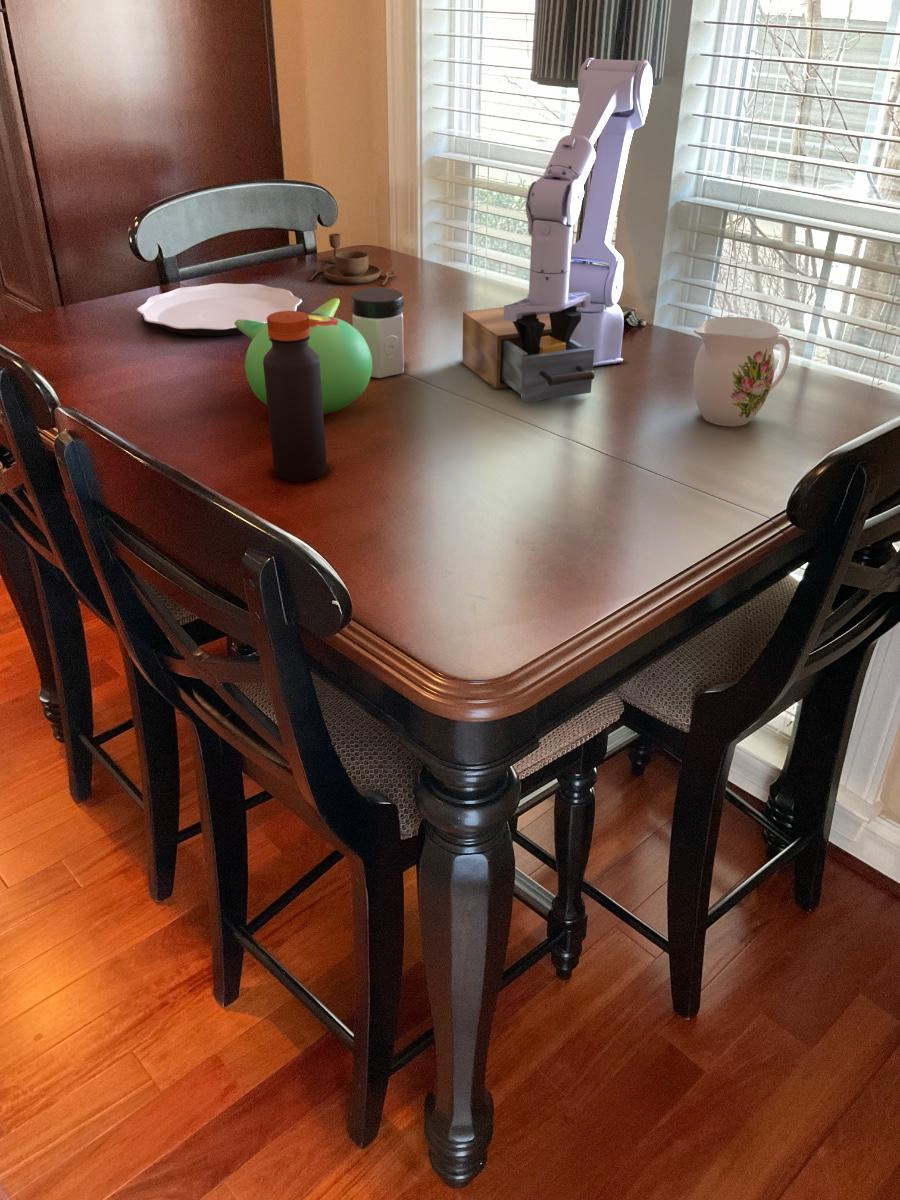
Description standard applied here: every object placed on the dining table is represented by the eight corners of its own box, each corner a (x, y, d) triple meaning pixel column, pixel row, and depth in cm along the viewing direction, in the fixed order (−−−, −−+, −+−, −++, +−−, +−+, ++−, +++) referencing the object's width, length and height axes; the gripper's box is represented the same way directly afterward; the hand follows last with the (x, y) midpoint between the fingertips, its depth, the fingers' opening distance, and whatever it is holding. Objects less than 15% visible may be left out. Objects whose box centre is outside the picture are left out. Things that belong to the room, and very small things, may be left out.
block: (564, 371, 148) (566, 343, 146) (541, 377, 146) (542, 348, 144) (546, 363, 151) (548, 335, 149) (523, 368, 149) (525, 340, 147)
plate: (333, 310, 186) (332, 297, 185) (225, 352, 165) (223, 338, 164) (219, 287, 199) (218, 275, 198) (106, 323, 178) (103, 310, 177)
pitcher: (804, 418, 142) (824, 324, 134) (707, 441, 135) (723, 342, 127) (752, 394, 150) (768, 304, 143) (658, 414, 143) (670, 320, 135)
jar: (367, 382, 154) (364, 305, 147) (343, 367, 159) (339, 292, 153) (416, 371, 158) (415, 296, 151) (390, 357, 164) (388, 284, 157)
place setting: (303, 283, 202) (301, 254, 199) (329, 260, 219) (327, 232, 216) (386, 287, 200) (385, 258, 197) (405, 263, 216) (405, 236, 213)
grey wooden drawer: (604, 401, 145) (608, 357, 141) (536, 412, 141) (539, 367, 137) (553, 366, 157) (555, 325, 154) (489, 375, 154) (490, 333, 150)
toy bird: (266, 440, 134) (255, 334, 126) (237, 399, 147) (226, 301, 139) (389, 421, 140) (385, 318, 132) (351, 383, 153) (346, 288, 145)
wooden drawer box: (566, 378, 155) (570, 326, 151) (495, 389, 151) (497, 335, 147) (529, 353, 166) (531, 303, 161) (462, 362, 162) (462, 311, 157)
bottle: (264, 478, 124) (247, 321, 113) (290, 457, 130) (276, 305, 119) (312, 486, 122) (299, 328, 111) (336, 465, 127) (326, 311, 117)
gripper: (572, 256, 147) (566, 345, 154) (492, 269, 140) (490, 361, 147) (602, 266, 142) (594, 358, 149) (521, 280, 135) (517, 375, 142)
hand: (544, 361), depth 148 cm, fingers closed on block, 4 cm apart
